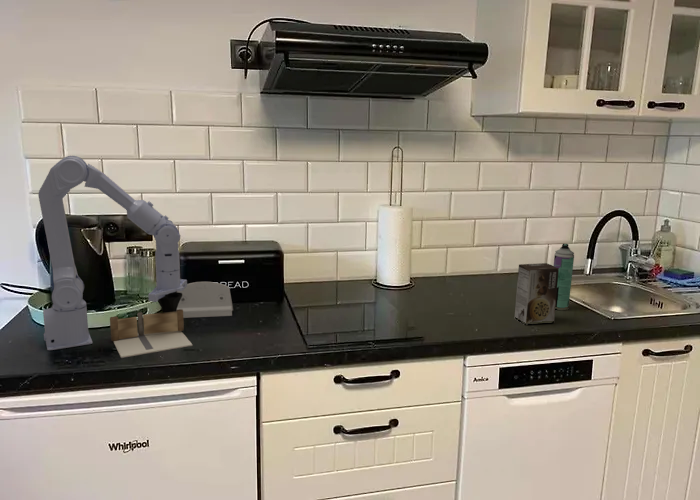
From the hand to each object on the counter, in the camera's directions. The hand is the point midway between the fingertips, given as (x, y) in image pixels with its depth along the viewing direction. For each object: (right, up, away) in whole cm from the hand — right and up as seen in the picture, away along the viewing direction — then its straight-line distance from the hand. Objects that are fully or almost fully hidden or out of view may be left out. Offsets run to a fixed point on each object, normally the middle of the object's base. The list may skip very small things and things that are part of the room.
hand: (169, 321), depth 141 cm
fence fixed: (-9, -4, -6) cm, 11 cm away
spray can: (+110, 0, +28) cm, 114 cm away
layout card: (-2, -4, -7) cm, 8 cm away
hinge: (+4, 0, +16) cm, 17 cm away
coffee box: (+98, -2, +16) cm, 99 cm away
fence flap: (-1, -3, -2) cm, 4 cm away
